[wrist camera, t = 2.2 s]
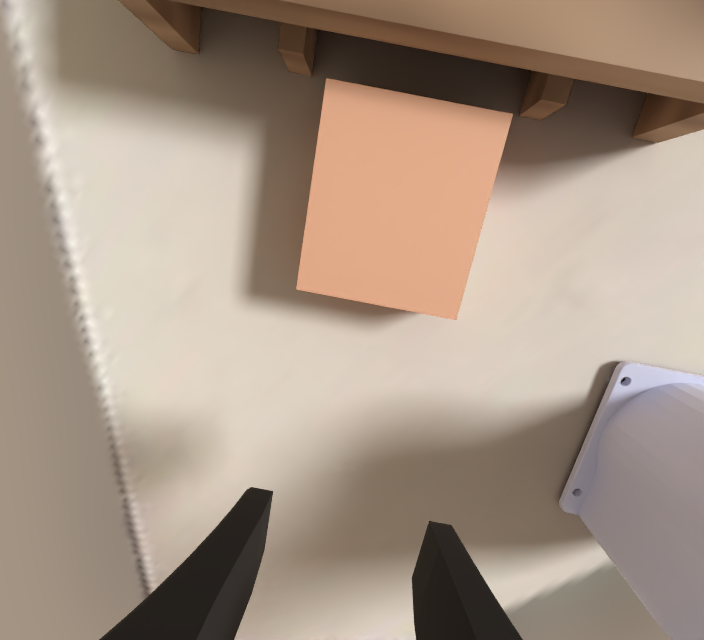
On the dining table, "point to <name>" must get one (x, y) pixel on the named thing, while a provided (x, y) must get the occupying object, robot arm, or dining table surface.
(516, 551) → the dining table surface
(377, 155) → the cover
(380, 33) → the wooden stand
